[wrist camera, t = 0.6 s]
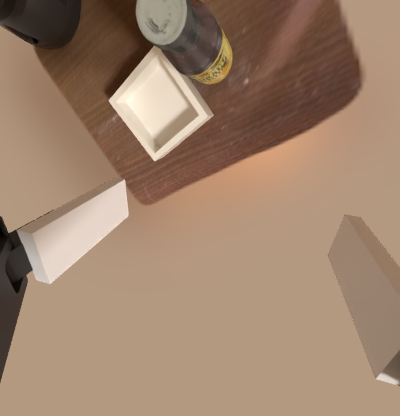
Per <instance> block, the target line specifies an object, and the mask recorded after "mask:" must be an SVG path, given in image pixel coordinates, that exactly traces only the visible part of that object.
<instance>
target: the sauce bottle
mask: <svg viewBox="0 0 400 416" xmlns="http://www.w3.org/2000/svg"><path fill="white" fill-rule="evenodd" d="M136 18H137V23H138V26H139V29H140V30H141V32H142V34H143V36H144V37H145V38H146V39H147V40H148V41H149V42H150V43H152V44H153V45H154V46H156V47H158V48H159V49H161V51H162V53H163V54H164V55H165V57H166V58H167V59H168V60H169V61H170V63H171V64H172V65H173V66H174V68H175V69H176V70H177V71H178V72H179V73H181V74H183V75H185V76H188V77H190V78H192V79H195V80H197V81H199V82H202V83H205V84H215V83H218V82H220V81H221V80H222V79H224V78H225V77H226V75H227V74H228V73H229V71H230V69H231V65H232V59H233V58H232V49H231V46H230V44H229V42H228V40H227V38H226V36H225V34H224V32H223V30H222V28H221V26H220V24H219V22H218V20H217V19H216V18H215V16H214V14H213V12H212V11H211V10H210V9H209V7H207V6H206V5H205V4H204V3H202V2H201V1H199V0H137V3H136Z"/></svg>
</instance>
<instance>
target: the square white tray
mask: <svg viewBox="0 0 400 416" xmlns="http://www.w3.org/2000/svg"><path fill="white" fill-rule="evenodd" d="M109 102H110V104H111V105H112V106H113V108H114V109H115V110H116V111H117V113H118V114H119V115H120V117H121V118H122V119H123V121H124V122H125V123H126V125H127V126H128V127H129V129H130V130H131V131H132V132H133V134H134V135H135V136H136V138H137V139H138V140H139V142H140V143H141V144H142V146H143V147H144V148H145V149H146V151H147V152H148V153H149V155H150V156H151V157H152V159H153V160H154V161H156V160H158V159H160V158H162V157H164V156H165V155H167V154H168V153H169V152H170V151H171V150H173V149H174V148H175V147H176V146H177V145H179V144H180V143H181V142H182V141H183V140H185V139H186V138H187V137H188V136H189V135H191V134H192V133H193V132H194V131H195V130H197V129H198V128H199V127H200V126H202V125H203V124H204V123H205V122H206V121H208V120H209V119H210V118H211V117H212V116H214V114H213V113H212V111H211V110H210V108H209V107H208V105H207V104H206V102H205V101H204V99H203V98H202V96H201V95H200V93H199V92H198V90H197V89H196V87H195V86H194V84H193V83H192V81H191V80H190V78H189V77H188V76H185V75H183V74H181V73H179V72H178V71H177V70H176V69H175V68H174V66H173V65H172V64H171V63H170V61H169V60H168V59H167V58H166V57H165V55H164V54H163V53H162V51H161V49H159V48H158V47H156V46H154V47H153V48H152V49H151V50H150V51H149V53H148V54H147V55H146V56H145V57H144V59H143V60H142V61H141V62H140V63H139V65H138V66H137V67H136V68H135V69H134V71H133V72H132V73H131V74H130V75H129V77H128V78H127V79H126V80H125V82H124V83H123V84H122V85H121V86H120V88H119V89H118V90H117V91H116V92H115V94H114V95H113V96H112V97H111V98H110V100H109Z"/></svg>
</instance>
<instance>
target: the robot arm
mask: <svg viewBox="0 0 400 416" xmlns="http://www.w3.org/2000/svg"><path fill="white" fill-rule="evenodd" d="M80 9H81V0H0V26H2V27H3V28H5V29H7V30H8V31H10V32H12V33H13V34H15V35H16V36H18V37H19V38H21V39H23V40H24V41H26V42H28V43H30V44H32V45H35V46H38V47H43V48H47V49H57V48H61V47H63V46H64V45H66V44H67V43H68V42H69V41H70V40H71V38H72V37H73V35H74V34H75V31H76V29H77V26H78V23H79V18H80ZM128 215H129V214H128V205H127V196H126V186H125V179H119V178H113V179H111V180H109V181H107V182H106V183H104V184H102V185H100V186H98V187H96V188H94V189H93V190H91V191H89V192H87V193H85V194H83V195H81V196H80V197H78V198H76V199H74V200H72V201H70V202H68V203H66V204H65V205H63V206H61V207H59V208H57V209H55V210H52V211H50V212H48V213H46V214H45V215H44V216H41V217H39V218H37V219H36V220H33V221H31V222H30V223H28V224H26V225H24V226H22V227H20V228H18V229H17V230H14V231H13V232H11V233H8V231H7V228H6V226H5V224H4V221H3V219H2V217H0V381H1V378H2V374H3V371H4V367H5V363H6V359H7V356H8V352H9V349H10V345H11V341H12V337H13V334H14V330H15V326H16V323H17V319H18V316H19V312H20V308H21V305H22V301H23V297H24V293H25V290H26V286H27V283H28V279H27V276H26V275H27V274H28V273H29V272H30V271H32V270H33V273H34V275H35V278H36V280H38V281H41V282H45V283H48V284H51V283H52V282H53V281H54V280H55V279H56V278H58V277H59V276H60V275H61V274H62V273H63V272H65V271H66V270H67V269H68V268H69V267H70V266H71V265H73V264H74V263H75V262H76V261H77V260H78V259H80V258H81V257H82V256H83V255H84V254H85V253H86V252H88V251H89V250H90V249H91V248H92V247H93V246H95V244H97V243H98V242H99V241H100V240H101V239H103V238H104V237H105V236H106V235H107V234H108V233H109V232H111V231H112V230H113V229H114V228H115V227H116V226H118V224H120V223H121V222H122V221H123V220H124V219H125V218H127V217H128ZM328 257H329V259H330V262H331V265H332V267H333V270H334V272H335V275H336V277H337V280H338V283H339V285H340V288H341V291H342V293H343V296H344V298H345V301H346V303H347V306H348V308H349V311H350V314H351V316H352V319H353V322H354V324H355V327H356V329H357V332H358V334H359V337H360V340H361V342H362V345H363V348H364V350H365V353H366V355H367V358H368V360H369V363H370V366H371V368H372V371H373V373H374V376H375V378H376V379H377V380H381V381H384V382H388V383H391V384H394V385H398V386H400V267H399V266H398V265H397V263H396V262H395V261H394V259H393V258H392V257H391V255H390V254H389V253H388V252H387V250H386V249H385V248H384V247H383V245H382V244H381V243H380V241H379V240H378V239H377V237H376V236H375V235H374V234H373V232H372V231H371V230H370V229H369V227H368V226H367V225H366V224H365V222H364V221H363V220H362V218H361V217H357V216H350V215H344V218H343V220H342V222H341V225H340V227H339V230H338V232H337V234H336V237H335V239H334V242H333V244H332V246H331V249H330V251H329V254H328Z"/></svg>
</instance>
